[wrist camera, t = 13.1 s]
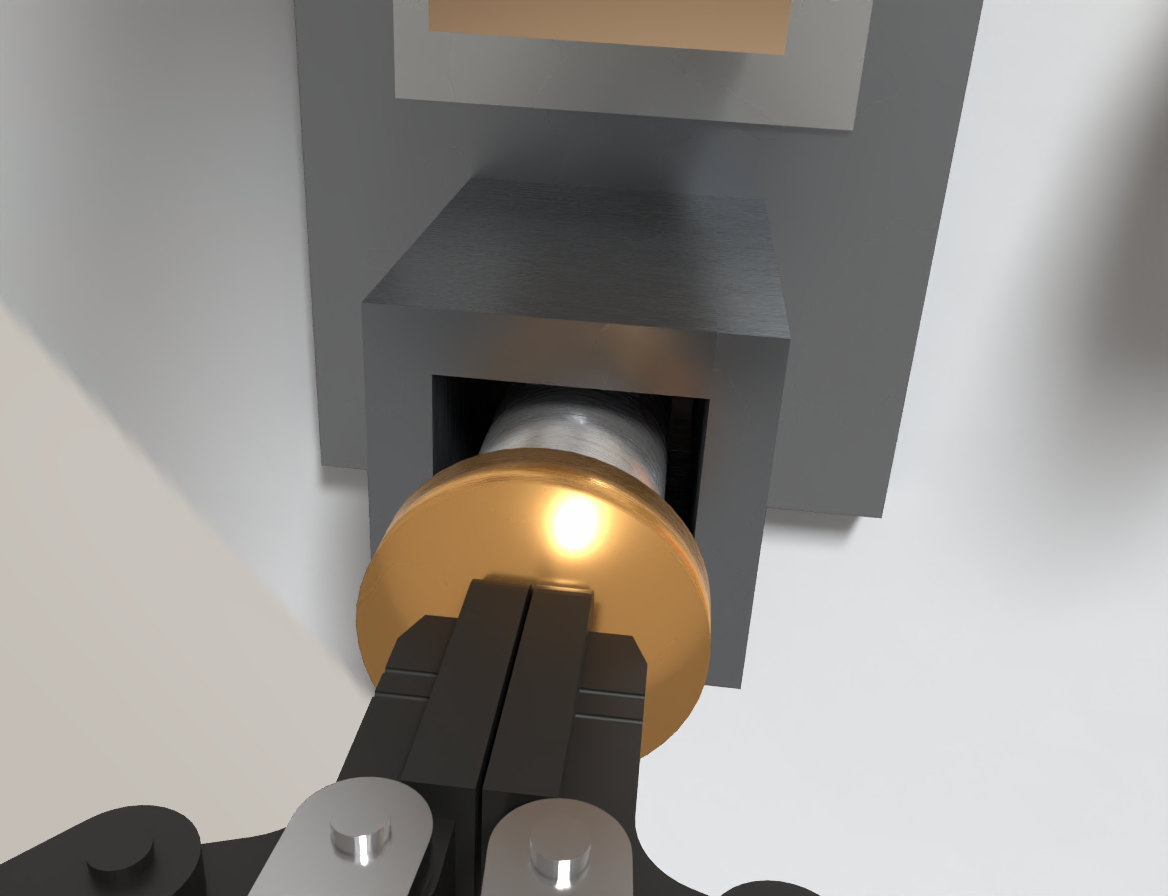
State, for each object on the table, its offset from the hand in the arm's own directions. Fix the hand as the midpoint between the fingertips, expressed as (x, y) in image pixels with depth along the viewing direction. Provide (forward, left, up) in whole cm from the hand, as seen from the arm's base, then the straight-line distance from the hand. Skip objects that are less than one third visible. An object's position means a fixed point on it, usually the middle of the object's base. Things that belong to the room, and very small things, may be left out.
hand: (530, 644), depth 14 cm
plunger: (0, 0, -11) cm, 11 cm away
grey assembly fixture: (-5, 0, -13) cm, 14 cm away
